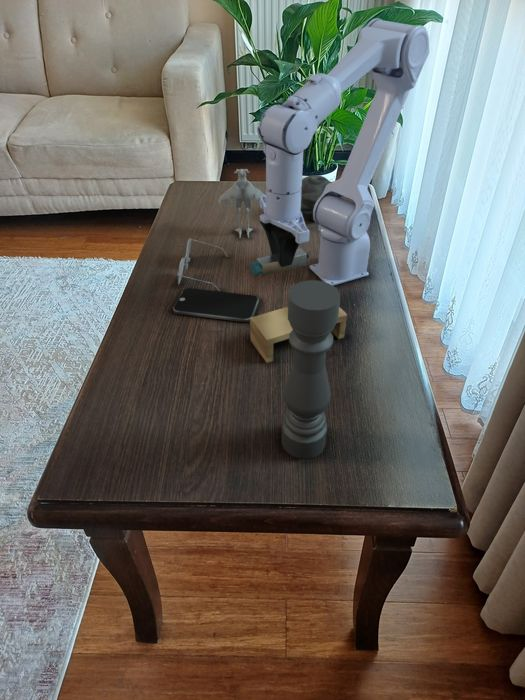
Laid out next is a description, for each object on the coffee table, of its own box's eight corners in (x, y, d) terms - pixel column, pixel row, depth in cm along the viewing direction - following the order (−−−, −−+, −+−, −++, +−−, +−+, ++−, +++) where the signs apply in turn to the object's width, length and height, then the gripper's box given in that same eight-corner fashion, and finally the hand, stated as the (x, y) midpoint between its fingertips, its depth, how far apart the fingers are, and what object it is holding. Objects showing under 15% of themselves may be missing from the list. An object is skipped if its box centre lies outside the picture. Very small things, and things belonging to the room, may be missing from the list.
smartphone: (184, 287, 101) (259, 295, 99) (184, 290, 101) (260, 298, 99) (170, 310, 95) (250, 320, 93) (171, 313, 96) (250, 323, 93)
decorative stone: (331, 207, 128) (335, 167, 121) (336, 227, 120) (340, 185, 114) (290, 208, 128) (292, 168, 121) (293, 227, 120) (294, 186, 114)
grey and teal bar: (303, 258, 96) (304, 246, 94) (310, 264, 94) (311, 252, 93) (250, 271, 92) (250, 260, 91) (255, 278, 91) (255, 266, 89)
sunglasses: (189, 254, 112) (190, 233, 109) (227, 261, 112) (230, 240, 109) (176, 291, 101) (177, 269, 98) (218, 298, 102) (221, 277, 98)
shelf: (325, 317, 95) (327, 294, 92) (344, 337, 90) (347, 314, 87) (250, 340, 90) (249, 317, 87) (266, 363, 86) (266, 339, 82)
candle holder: (279, 425, 76) (282, 280, 59) (321, 422, 76) (336, 277, 59) (284, 460, 71) (289, 313, 54) (329, 457, 71) (348, 310, 55)
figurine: (268, 229, 120) (268, 164, 110) (269, 237, 117) (269, 172, 107) (219, 230, 120) (215, 166, 110) (219, 239, 117) (214, 173, 107)
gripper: (242, 175, 87) (245, 247, 96) (281, 210, 77) (280, 287, 86) (280, 168, 90) (279, 238, 98) (323, 201, 80) (317, 277, 89)
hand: (282, 260), depth 93 cm, fingers closed on grey and teal bar, 2 cm apart
